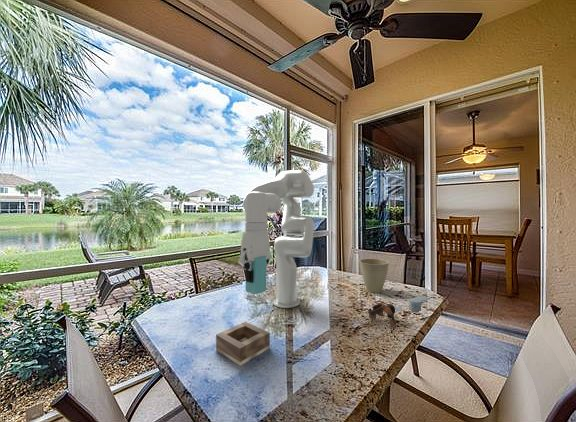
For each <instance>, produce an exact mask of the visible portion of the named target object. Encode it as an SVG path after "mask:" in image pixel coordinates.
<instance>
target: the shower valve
mask: <svg viewBox="0 0 576 422" xmlns="http://www.w3.org/2000/svg"><path fill="white" fill-rule="evenodd" d="M429 299H430V298H429V297H428V296H426V295H425V296H424V295H421V296H416V297H413V298H409V303H410V305H409V309H410V310H411V311H415V312H419V311H421V307H422V306H423V303H424V302H426V301H428V300H429ZM409 303H408V304H409ZM402 306H403V305H399V306H397V307H395V310H397V311H401V309H402ZM397 311H396V312H397Z"/></svg>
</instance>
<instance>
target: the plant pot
mask: <svg viewBox="0 0 576 422" xmlns="http://www.w3.org/2000/svg"><path fill="white" fill-rule="evenodd" d="M389 263H390V262H389V260H385V259H380V258H363V259H359V266H360V271H361V272H360V273H361V276H362V280H363V284H364V286H365V289H366V291H367V292H369V293H372V294H379V293H381V292H382V290H383V288H384V285H385V283H386V278H387V275H388V270H389V265H390V264H389Z"/></svg>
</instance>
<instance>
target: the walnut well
mask: <svg viewBox="0 0 576 422" xmlns="http://www.w3.org/2000/svg"><path fill="white" fill-rule="evenodd" d="M215 341H216V342H215V350H216V351H217V352H218V353H219V354H221V355H222V356H225V357H226V358H227V359H229V360H231V361H232V362H233V363H235V364H236V365H238V366H242V365H244V364H245V363H248V362H249V361H250V360H253V359H254V358H255V357H258V356H259V355H261V354H262V353H264V352H267V351H268V350H269V349H270V348H271V333H270V331H267V330H264V329H262V328H260V327H259V326H257V325H254V324H252V323H250V322H247V321H244V322H241V323H239V324H237V325H235V326H232V327H230V328H227V329H225V330H223V331H222V332H219V333H217V334H215Z"/></svg>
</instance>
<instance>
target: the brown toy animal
mask: <svg viewBox="0 0 576 422" xmlns="http://www.w3.org/2000/svg"><path fill="white" fill-rule="evenodd" d="M395 308H396V307H395V306H394V305H393V304H391V303H390V304H385V303H384V302H381V303H377V304H375V305H373V306H372V307H370V308H368V310H367V313H368V318H369V319H374V320H377V316H378V317H381V318H382V317H383V318H384V317H385V315H384V312H385V314H386V316H387V318H389V319H391V320H390V321H389V322H388V324H389V326H390V328H391V327H393V326H394V327H395V326H396V325H397V322H396V320H395V319H396V318H395V314H396V311H395ZM394 327H393V328H394Z"/></svg>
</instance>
